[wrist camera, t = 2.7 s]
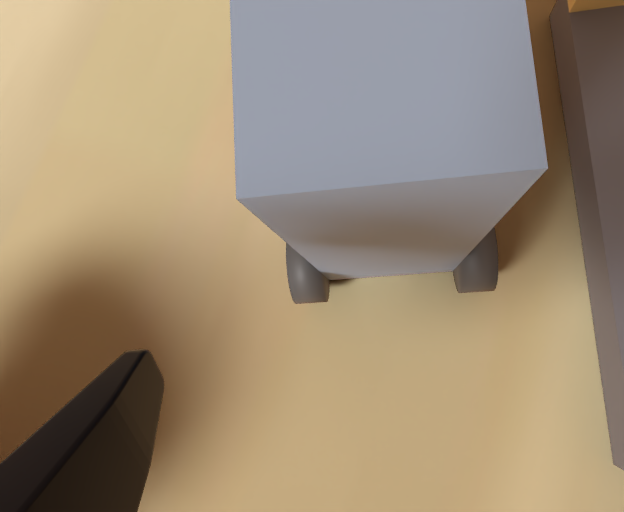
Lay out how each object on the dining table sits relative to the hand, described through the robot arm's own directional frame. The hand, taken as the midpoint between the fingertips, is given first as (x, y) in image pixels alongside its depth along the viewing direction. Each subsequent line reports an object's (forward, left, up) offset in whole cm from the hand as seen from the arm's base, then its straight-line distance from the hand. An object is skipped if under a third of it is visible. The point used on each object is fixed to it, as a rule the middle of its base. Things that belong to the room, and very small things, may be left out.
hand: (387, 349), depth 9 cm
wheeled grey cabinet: (+5, 0, -12) cm, 13 cm away
